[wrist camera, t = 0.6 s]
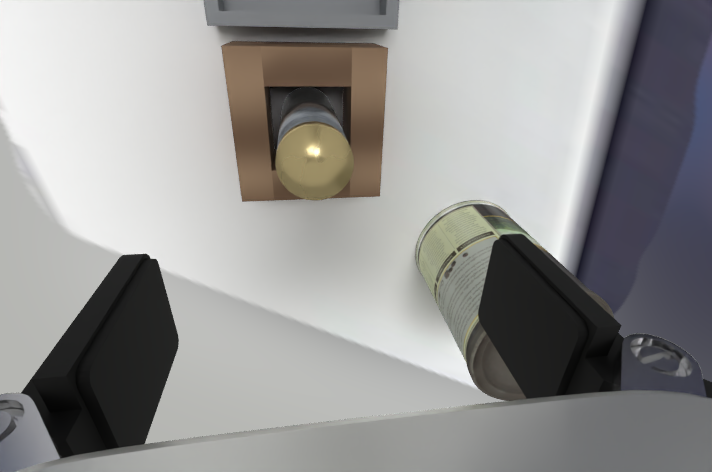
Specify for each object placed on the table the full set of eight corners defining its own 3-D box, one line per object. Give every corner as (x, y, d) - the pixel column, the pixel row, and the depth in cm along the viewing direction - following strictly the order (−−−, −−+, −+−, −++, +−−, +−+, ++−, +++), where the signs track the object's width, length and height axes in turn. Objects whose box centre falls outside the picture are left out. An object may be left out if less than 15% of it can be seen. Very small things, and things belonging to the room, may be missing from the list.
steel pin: (279, 86, 29) (272, 125, 19) (333, 86, 30) (354, 124, 19) (283, 139, 31) (278, 201, 21) (333, 138, 31) (353, 198, 21)
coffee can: (520, 192, 36) (634, 280, 24) (507, 280, 42) (596, 389, 29) (414, 206, 36) (476, 304, 23) (413, 294, 41) (465, 412, 29)
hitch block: (232, 41, 27) (221, 45, 23) (373, 43, 28) (387, 48, 24) (249, 176, 32) (242, 201, 28) (368, 173, 33) (379, 196, 29)
